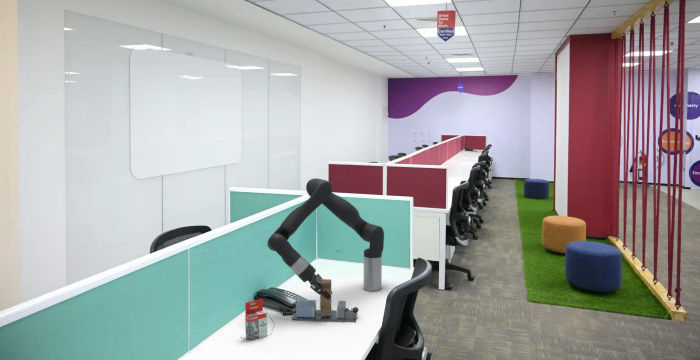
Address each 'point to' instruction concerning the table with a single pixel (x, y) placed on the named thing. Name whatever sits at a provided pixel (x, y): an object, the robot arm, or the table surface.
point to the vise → (333, 314)
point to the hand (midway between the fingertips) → (330, 296)
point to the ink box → (255, 320)
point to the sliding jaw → (306, 308)
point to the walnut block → (324, 303)
